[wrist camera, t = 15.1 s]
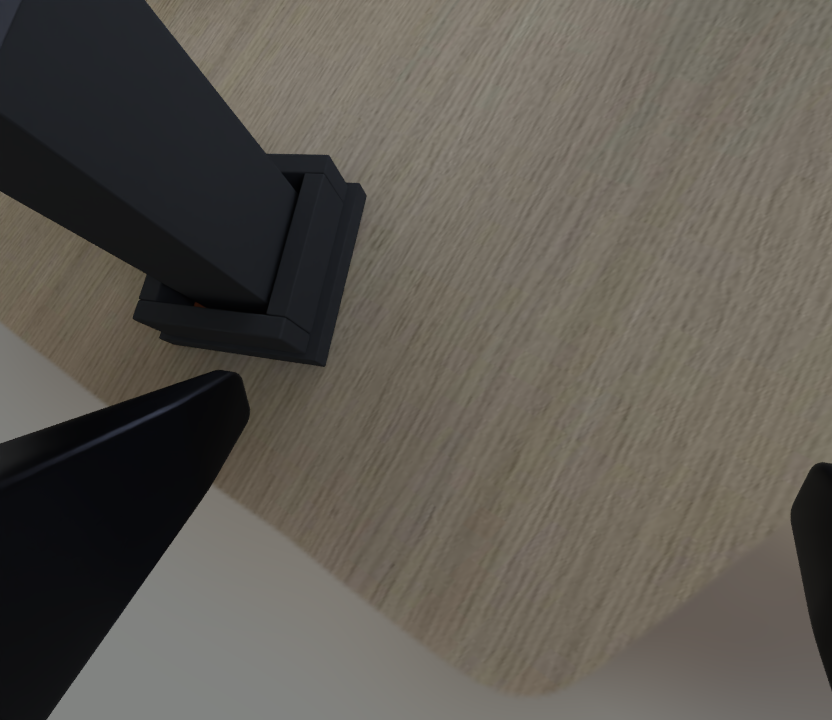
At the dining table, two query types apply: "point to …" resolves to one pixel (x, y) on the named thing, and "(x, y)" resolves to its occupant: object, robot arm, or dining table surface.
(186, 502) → the robot arm
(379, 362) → the dining table surface
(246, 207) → the tall black lidded box
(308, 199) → the dock
